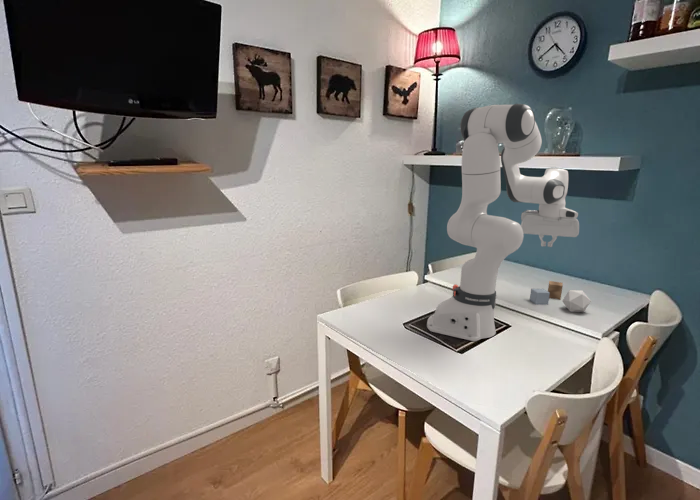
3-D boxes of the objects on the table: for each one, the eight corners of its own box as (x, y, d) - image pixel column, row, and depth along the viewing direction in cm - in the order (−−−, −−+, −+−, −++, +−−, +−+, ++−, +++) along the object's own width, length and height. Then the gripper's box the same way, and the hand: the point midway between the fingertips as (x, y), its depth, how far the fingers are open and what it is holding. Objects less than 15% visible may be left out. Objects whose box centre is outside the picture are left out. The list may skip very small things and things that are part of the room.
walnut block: (547, 297, 163) (549, 284, 162) (547, 294, 168) (549, 280, 166) (560, 299, 161) (562, 286, 160) (560, 296, 166) (562, 282, 164)
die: (587, 318, 144) (599, 296, 145) (566, 305, 145) (578, 283, 146) (574, 317, 152) (585, 296, 154) (554, 305, 153) (566, 284, 154)
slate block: (535, 304, 156) (537, 292, 154) (529, 300, 160) (531, 288, 159) (548, 304, 156) (549, 292, 155) (541, 300, 161) (543, 288, 160)
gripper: (522, 210, 150) (518, 245, 153) (583, 213, 144) (577, 250, 147) (521, 208, 155) (517, 242, 159) (578, 211, 149) (573, 246, 153)
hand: (546, 246), depth 153 cm, fingers closed
